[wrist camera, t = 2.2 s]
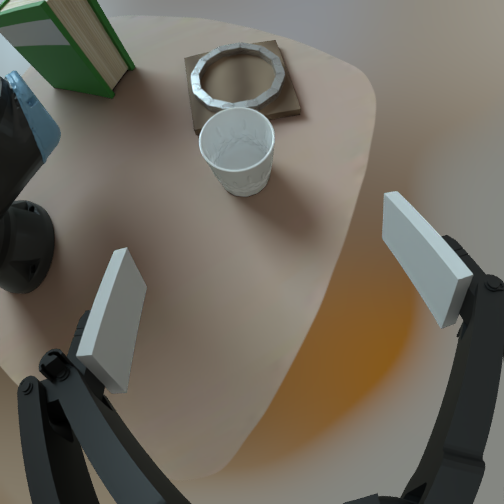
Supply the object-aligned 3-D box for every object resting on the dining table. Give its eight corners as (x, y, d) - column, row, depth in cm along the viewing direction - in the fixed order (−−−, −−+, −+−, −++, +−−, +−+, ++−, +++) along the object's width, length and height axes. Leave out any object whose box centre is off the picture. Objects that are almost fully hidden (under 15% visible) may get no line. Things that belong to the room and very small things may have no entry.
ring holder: (196, 135, 42) (191, 124, 39) (186, 63, 44) (182, 52, 41) (300, 114, 42) (301, 102, 39) (275, 45, 44) (275, 34, 41)
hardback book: (135, 66, 45) (78, -31, 21) (112, 98, 44) (39, 5, 21) (74, 59, 47) (17, -13, 23) (53, 87, 46) (-13, 19, 23)
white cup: (213, 150, 42) (198, 112, 32) (271, 144, 41) (270, 103, 31) (216, 204, 40) (199, 176, 30) (277, 198, 40) (279, 167, 30)
